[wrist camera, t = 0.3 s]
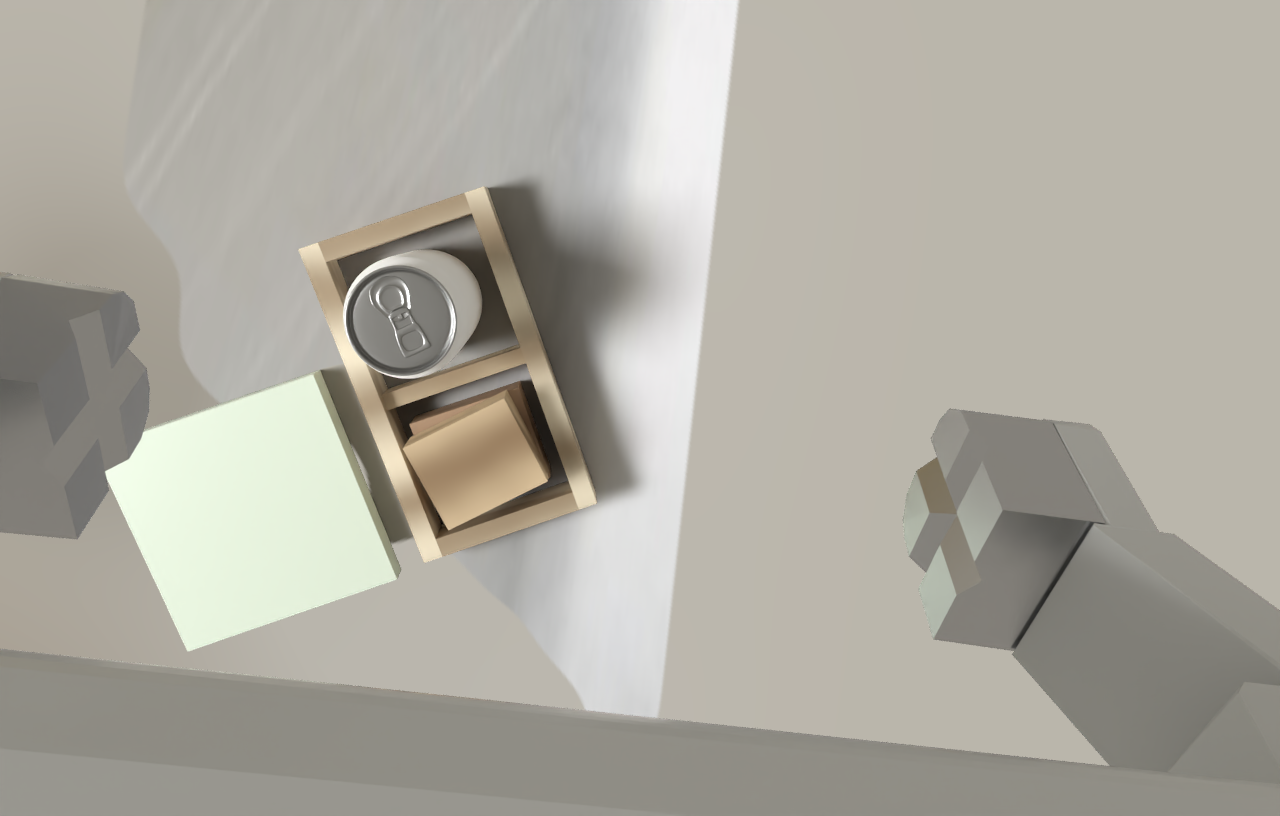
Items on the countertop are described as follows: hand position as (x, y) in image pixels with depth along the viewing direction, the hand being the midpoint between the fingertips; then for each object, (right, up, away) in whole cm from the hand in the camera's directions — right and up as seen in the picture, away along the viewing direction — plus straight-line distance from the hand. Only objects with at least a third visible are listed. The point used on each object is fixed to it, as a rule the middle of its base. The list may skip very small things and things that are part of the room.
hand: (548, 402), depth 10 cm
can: (-12, +7, +52) cm, 54 cm away
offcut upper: (-9, -3, +51) cm, 52 cm away
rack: (-11, +2, +52) cm, 53 cm away
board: (-24, -6, +53) cm, 58 cm away
